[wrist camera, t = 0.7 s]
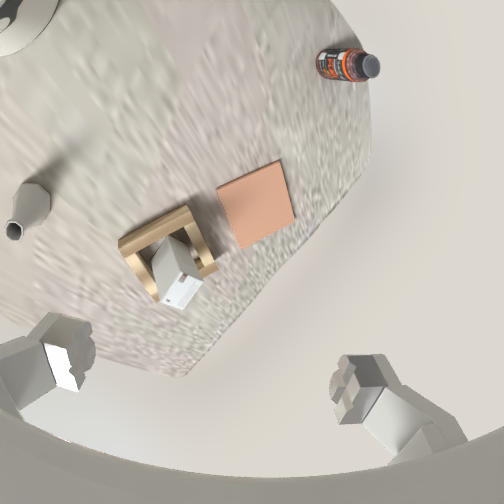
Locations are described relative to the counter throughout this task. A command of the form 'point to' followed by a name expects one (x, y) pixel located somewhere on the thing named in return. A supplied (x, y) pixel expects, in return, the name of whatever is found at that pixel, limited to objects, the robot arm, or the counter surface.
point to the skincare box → (175, 273)
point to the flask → (27, 210)
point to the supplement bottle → (347, 65)
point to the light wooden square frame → (156, 231)
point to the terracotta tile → (257, 204)
